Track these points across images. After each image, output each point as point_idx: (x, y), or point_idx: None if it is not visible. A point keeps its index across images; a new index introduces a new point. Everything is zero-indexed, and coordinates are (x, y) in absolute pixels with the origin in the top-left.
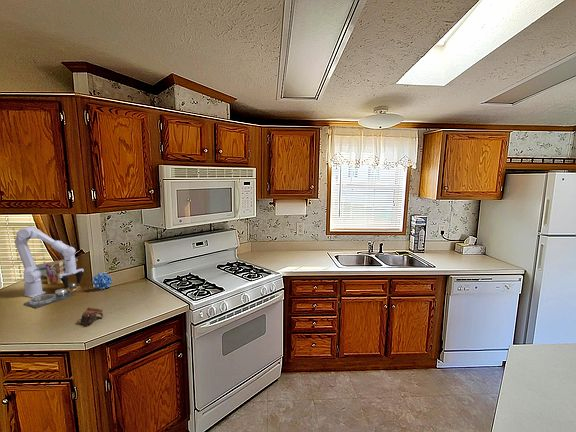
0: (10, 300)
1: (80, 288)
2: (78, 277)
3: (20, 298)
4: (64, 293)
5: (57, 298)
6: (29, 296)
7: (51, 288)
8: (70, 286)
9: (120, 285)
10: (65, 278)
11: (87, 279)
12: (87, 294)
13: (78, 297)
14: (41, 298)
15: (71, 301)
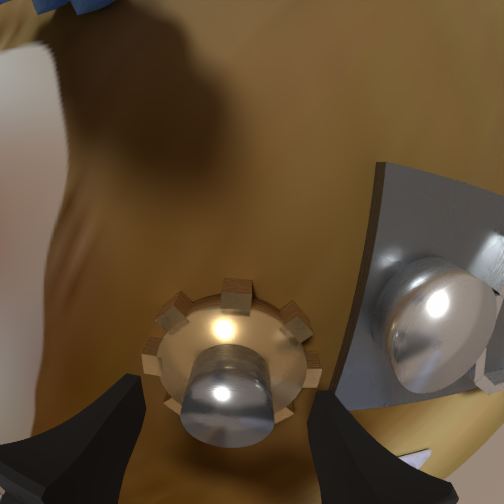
0: (448, 469)
1: (171, 300)
2: (103, 458)
3: (430, 468)
4: (441, 263)
5: (501, 229)
6: (422, 463)
7: (265, 498)
8: (271, 393)
9: (6, 3)
10: (449, 497)
11: (37, 425)
12: (287, 15)
13: (395, 47)
14: (488, 365)
15: (471, 49)
